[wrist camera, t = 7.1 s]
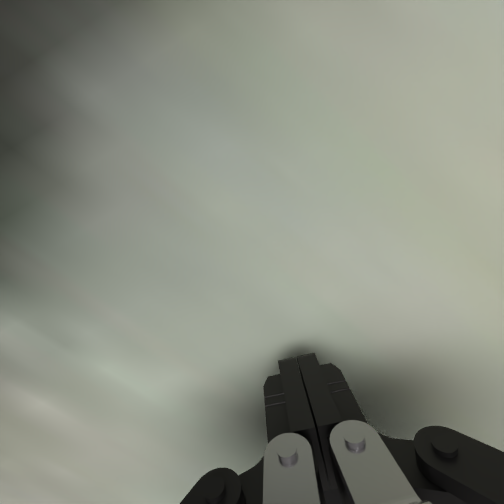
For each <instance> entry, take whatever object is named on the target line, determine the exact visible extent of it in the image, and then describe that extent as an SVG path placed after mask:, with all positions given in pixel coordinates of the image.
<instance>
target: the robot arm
mask: <svg viewBox="0 0 504 504" xmlns="http://www.w3.org/2000/svg"><path fill="white" fill-rule="evenodd" d="M297 360H298V364H297V361H296V357H293V358H289V359H284V360H279V361H278V363H279V369H280V374H278V375H273V376H268V378H267V380H266V382H265V384H264V397H265V411H266V424H267V436H268V445H267V447H266V449H265V452H264V456H263V458H262V459H261V461H260V462H259V463H258V464H257V465H255V466H254V467H253V468H251V469H249V470H248V471H246V472H244V473H242V474H240V475H239V476H238V475H237V474H236V473H235V472H234V471H233V470H231V469H228V468H217V469H214V470H211V471H209V472H208V473H206V474H205V475H204V476H203V477H201V478H200V480H199V481H198V482H197V483H196V484H195V486H194V487H193V488H192V489H191V490H190V492H189V493H188V494H187V495H186V497H185V498H184V499H183V500H182V501H181V503H180V504H326V501H325V497H324V492H323V491H328V490H329V489H328V484H327V479H326V475H325V470H326V473H327V477H328V481H329V484H330V488H331V490H332V489H337V488H338V490H339V493H340V496H341V499H342V503H343V504H504V452H502V451H500V450H498V449H495V448H493V447H491V446H489V445H486V444H484V443H482V442H480V441H477V440H475V439H473V438H470V437H468V436H466V435H464V434H461V433H459V432H457V431H455V430H452V429H450V428H446V427H441V426H429V427H425V428H423V429H421V430H419V431H418V432H417V433H416V435H415V437H414V441H413V440H402V439H394V438H389V437H386V436H384V435H381V434H379V433H378V432H377V431H376V430H375V429H374V428H373V427H372V426H370V425H369V424H368V423H367V422H366V420H365V418H364V416H363V414H362V412H361V410H360V408H359V406H358V404H357V402H356V400H355V398H354V396H353V394H352V392H351V390H350V389H349V386H348V384H347V382H346V381H345V378H344V376H343V374H342V372H341V370H340V369H338V368H337V367H336V366H334V365H333V364H331V363H329V364H324V365H319V363H318V360H317V358H316V355H315V353H312V354H307V355H302V356H298V357H297ZM298 365H299V368H298ZM299 369H300V371H299ZM300 374H301V375H300ZM321 455H322V456H321ZM322 459H323V461H322ZM323 462H324V466H325V470H324V466H323Z"/></svg>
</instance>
